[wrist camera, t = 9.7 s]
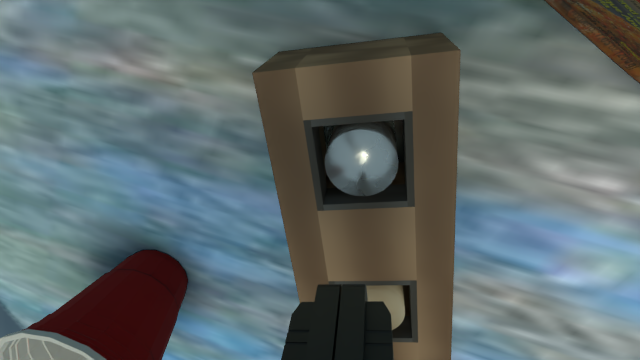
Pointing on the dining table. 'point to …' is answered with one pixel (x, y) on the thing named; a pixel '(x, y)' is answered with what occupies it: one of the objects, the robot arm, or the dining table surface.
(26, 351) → the plastic cup
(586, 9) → the tin
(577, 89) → the dining table surface
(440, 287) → the collar block
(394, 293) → the birch peg
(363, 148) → the steel peg
